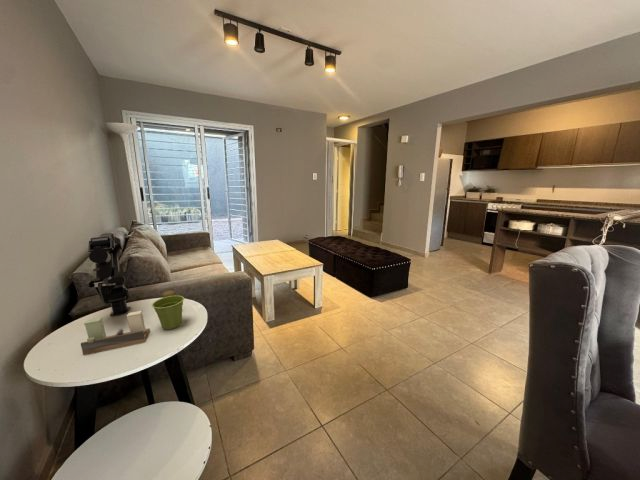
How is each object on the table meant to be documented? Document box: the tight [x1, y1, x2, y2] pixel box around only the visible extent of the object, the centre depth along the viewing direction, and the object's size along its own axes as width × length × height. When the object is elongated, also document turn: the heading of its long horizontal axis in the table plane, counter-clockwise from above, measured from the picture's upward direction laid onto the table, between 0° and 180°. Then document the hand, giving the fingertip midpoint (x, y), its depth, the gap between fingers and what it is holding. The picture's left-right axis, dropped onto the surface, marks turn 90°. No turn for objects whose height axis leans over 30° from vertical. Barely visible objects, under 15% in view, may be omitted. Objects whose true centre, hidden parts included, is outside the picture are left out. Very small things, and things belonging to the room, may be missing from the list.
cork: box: [162, 290, 177, 298], centre depth 118 cm, size 6×6×11 cm
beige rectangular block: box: [126, 310, 146, 333], centre depth 100 cm, size 3×4×9 cm, turn 111°
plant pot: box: [151, 295, 185, 330], centre depth 108 cm, size 12×12×11 cm
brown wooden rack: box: [80, 327, 151, 356], centre depth 97 cm, size 8×19×6 cm, turn 111°
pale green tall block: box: [83, 317, 107, 340], centre depth 96 cm, size 3×4×9 cm, turn 111°
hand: (105, 302), depth 106 cm, fingers closed
